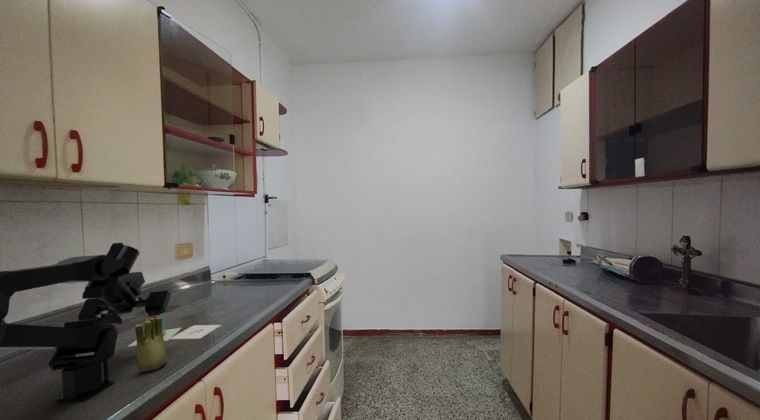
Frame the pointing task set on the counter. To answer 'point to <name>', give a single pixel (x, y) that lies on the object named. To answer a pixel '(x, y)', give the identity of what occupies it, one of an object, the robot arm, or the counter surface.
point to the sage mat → (166, 336)
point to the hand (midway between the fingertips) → (140, 320)
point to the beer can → (162, 321)
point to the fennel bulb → (150, 345)
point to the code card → (195, 332)
